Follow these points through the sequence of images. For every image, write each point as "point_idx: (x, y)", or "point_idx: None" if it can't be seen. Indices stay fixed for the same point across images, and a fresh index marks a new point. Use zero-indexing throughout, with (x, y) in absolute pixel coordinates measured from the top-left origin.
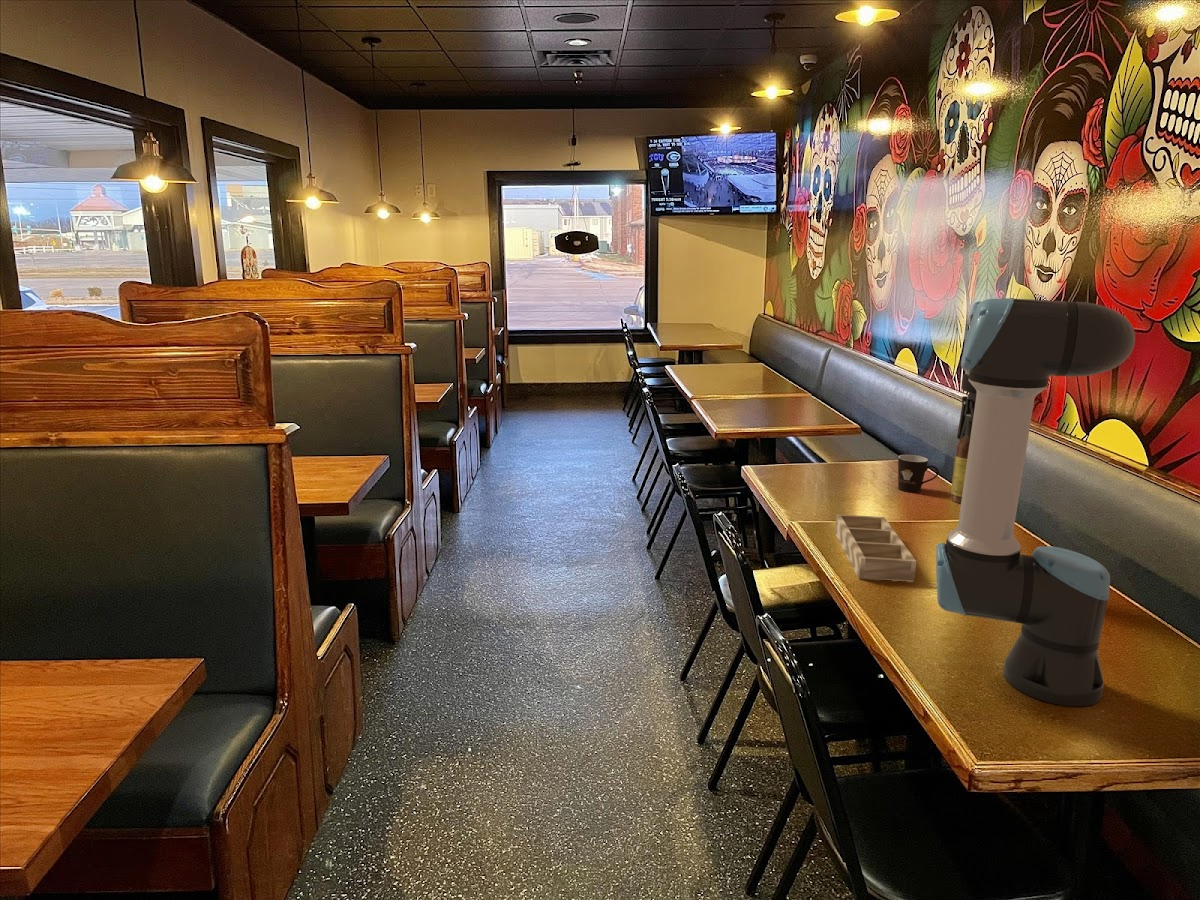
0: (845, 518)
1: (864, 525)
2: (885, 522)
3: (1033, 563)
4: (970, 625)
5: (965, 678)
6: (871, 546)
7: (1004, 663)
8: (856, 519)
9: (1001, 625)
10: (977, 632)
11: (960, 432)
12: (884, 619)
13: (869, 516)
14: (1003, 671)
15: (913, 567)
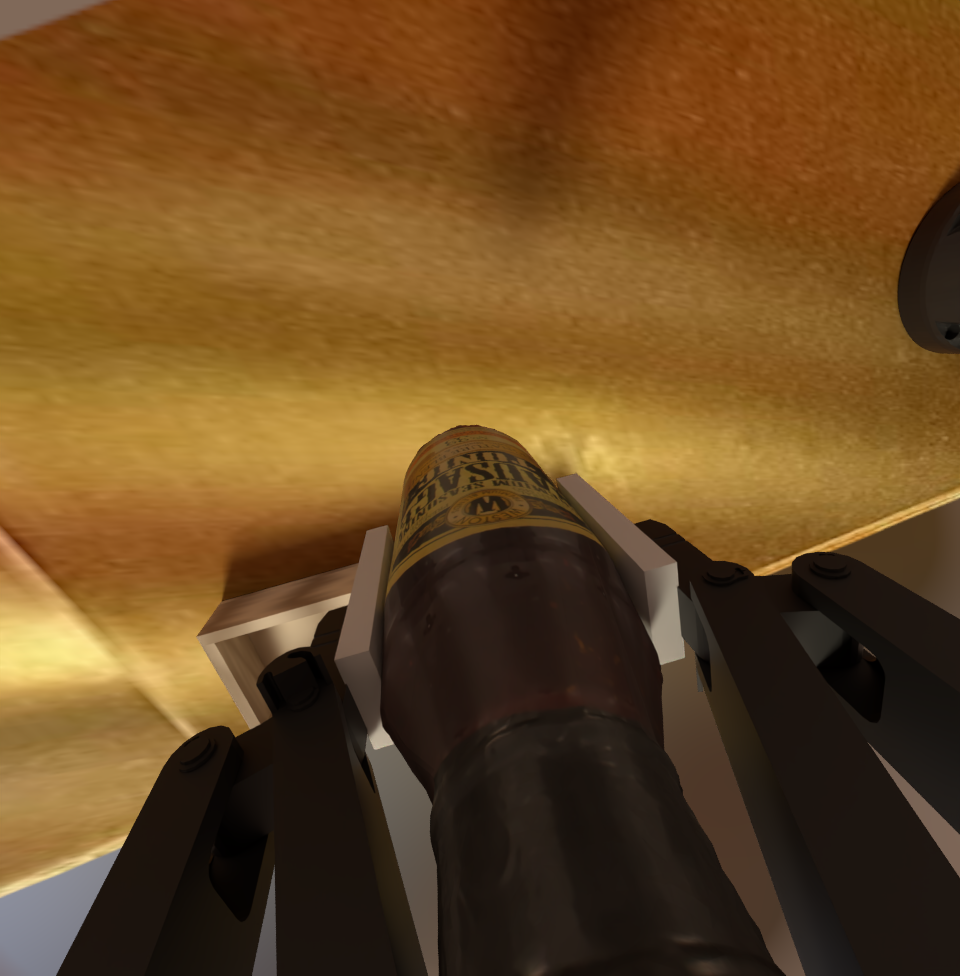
0: (260, 714)
1: (244, 660)
2: (254, 627)
3: None
4: (748, 397)
5: (950, 418)
6: None
7: (958, 353)
8: (248, 691)
9: (737, 330)
10: (778, 385)
11: (266, 882)
12: (749, 550)
13: (219, 670)
14: (947, 353)
15: None
